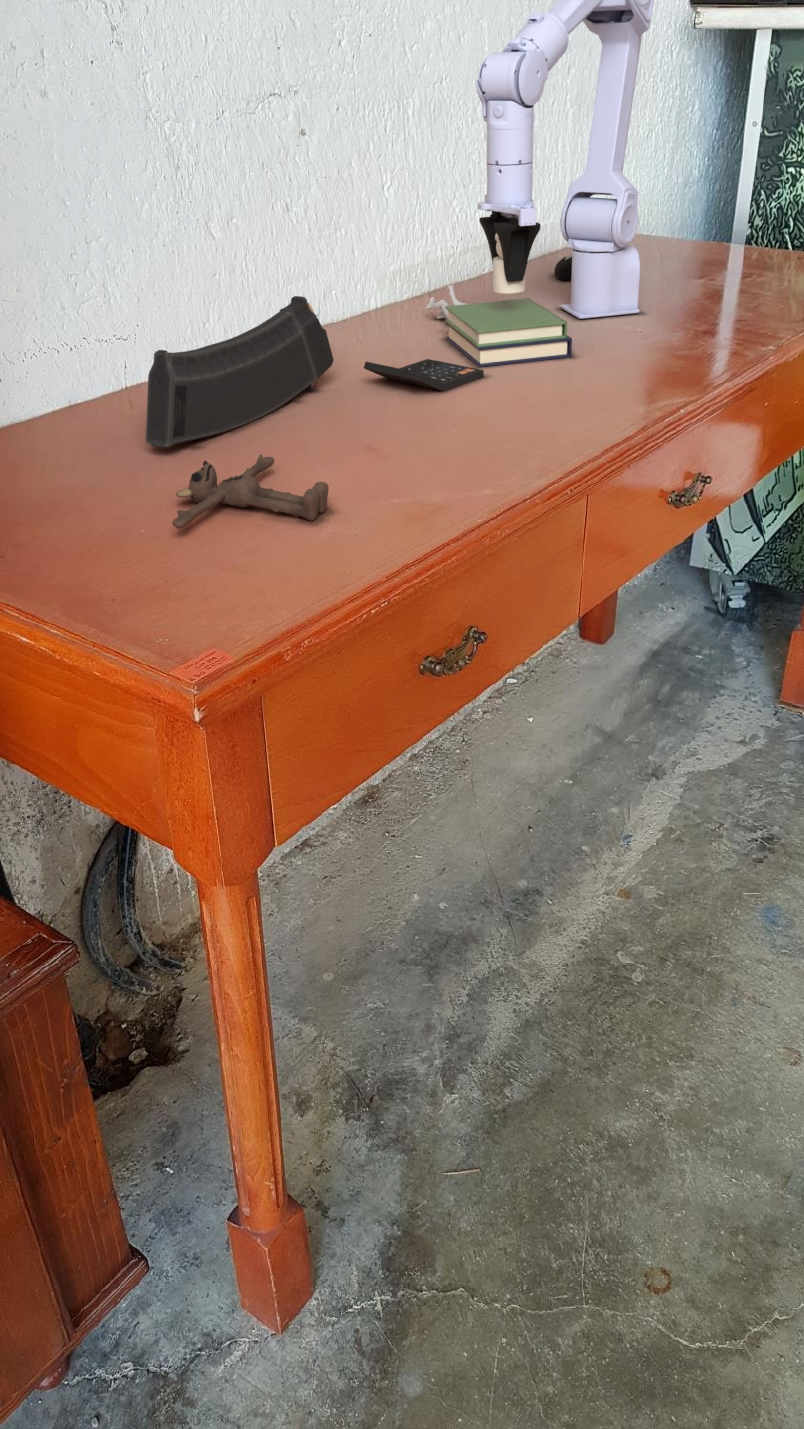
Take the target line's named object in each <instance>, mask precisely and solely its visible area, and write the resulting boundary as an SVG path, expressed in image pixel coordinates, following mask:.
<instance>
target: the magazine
mask: <svg viewBox="0 0 804 1429" xmlns="http://www.w3.org/2000/svg"><path fill="white" fill-rule="evenodd" d="M307 299H308V298H306V297H305V296H301V295H294V296H292V297H291V299H290V303H289V304H288V305H286V306H285V307H283V308H281V309H279V311H278V312H277V313H275V314H274V315H272V316H271V317H269V318H268V319H266V320H265V321H263V322H261V323H260V324H258V325H257V326H255V327H252V328H251V329H249V330H246V331H245V332H242V333H241V334H238V335H236V336H233V337H231V338H229V339H225V340H223V341H219V342H215V343H211V344H209V345H205V346H202V347H199V348H196V349H191V350H185V351H176V352H175V351H174V352H168V350H164V349H158V350H156V351H155V352H154V353H153V363H152V366H151V367H150V370H149V371H148V376H147V398H146V399H147V400H146V423H145V424H146V425H145V442H146V444H149V445H150V446H152V447H156V448H161V449H162V448H171V447H172V446H174V445H178V444H183V443H186V442H187V443H188V442H191V441H195V440H200V439H204V438H208V437H212V436H217V435H219V434H222V433H226V432H229V431H232V430H236V429H238V428H241V427H243V426H245V425H248V424H251V423H253V422H255V421H257V420H259V419H261V418H263V417H265V416H267V415H269V414H271V413H273V412H274V411H277V410H278V409H279V408H281V407H282V406H284V405H286V404H287V403H288V402H290V401H291V400H292V399H293V398H295V397H296V396H298V395H299V394H300V393H302V392H303V391H308V392H309V391H310V392H313V391H314V388H313V383H314V382H316V381H317V380H318V379H319V378H320V377H321V376H323V374H325V373H326V372H327V371H328V370H329V369H330V368H331V367H332V365H333V363H334V355H333V352H332V348H331V344H330V340H329V336H328V333H327V330H326V329H325V328H324V327H323V326H322V324H321V322H320V320H319V318H318V315H317V314H315V310H314V309H313V306H312V305H311V303H310V302H308V300H307Z"/></svg>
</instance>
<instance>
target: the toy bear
mask: <svg viewBox="0 0 804 1429" xmlns="http://www.w3.org/2000/svg"><path fill="white" fill-rule="evenodd" d="M495 240H496V241H497V243H496V251H497V253H498V255H499V256H498V257H495V258H493V263H492V292H494V293H495V294H500V295H501V294H502V295H509V294H511V295H512V294H519V293H523V292H524V291H526V274H525V275H524V278H523V281H515V282H507V281H506V277H505V272H504V263H503V254H502V248H501V244H500V240H499V237H498V235H497V233H496V235H495Z"/></svg>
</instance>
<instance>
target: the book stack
mask: <svg viewBox="0 0 804 1429" xmlns="http://www.w3.org/2000/svg"><path fill="white" fill-rule="evenodd" d="M445 309H447V310H448V319H447V318H444V319H445V320H444V321H445V324H446V325H447V326H448V336H446V341H448V342H449V343H450V344H451V345H453V347H455V348H456V349H457V350H458V351H460V352H461V353H462V354H463V355H464V356H465V357H467V358H468V360H470V361H471V362H473V363H474V364H475V365H476V366H477V367H478V368H484V367H494V366H495V367H496V366H502V365H511V364H522V363H531V362H539V361H540V362H541V361H550V360H558V359H566V358H567V359H568V358H572V346H573V338H572V337H571V336H569V335H568V321H567V320H565V319H563V318H561V317H560V316H558V315H556V314H555V313H553V312H551V311H550V310H549V309H547V308H545V307H544V306H541V305H540V304H538V303H537V302H535V301H534V300H532V299H530V298H528V297H527V298H516V299H515V298H514V299H506V300H496V301H486V302H485V301H484V302H475V303H466V304H464V305H450V306H445Z"/></svg>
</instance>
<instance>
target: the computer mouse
mask: <svg viewBox="0 0 804 1429" xmlns="http://www.w3.org/2000/svg"><path fill="white" fill-rule="evenodd" d="M554 275H555V277H556V278H557V279H558V280H561V281H571V277H572V253H569V254H567V255H566V256H564V257H563V258H561V259H560V260H558V262H557V263H556V264H555V267H554Z"/></svg>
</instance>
